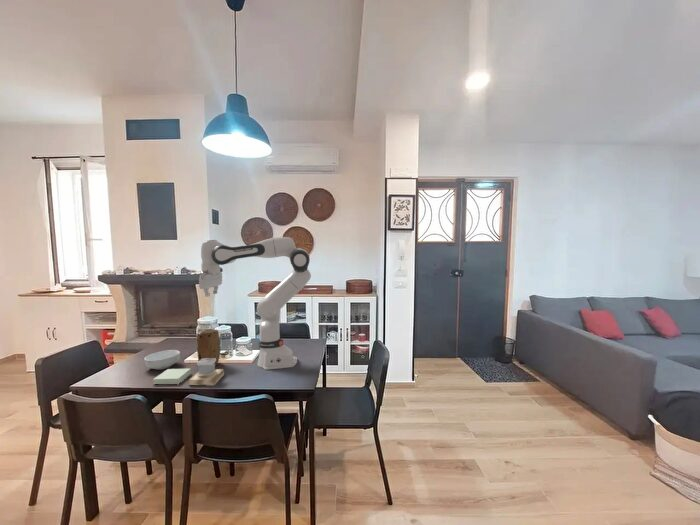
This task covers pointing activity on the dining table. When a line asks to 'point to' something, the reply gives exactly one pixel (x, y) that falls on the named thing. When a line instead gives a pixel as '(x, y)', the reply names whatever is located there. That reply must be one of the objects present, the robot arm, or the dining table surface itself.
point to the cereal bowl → (162, 359)
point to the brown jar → (208, 345)
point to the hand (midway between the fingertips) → (211, 295)
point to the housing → (206, 367)
